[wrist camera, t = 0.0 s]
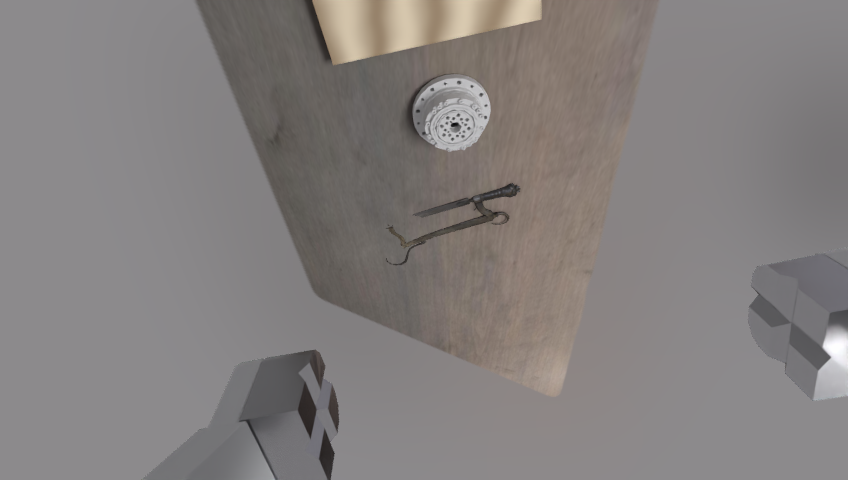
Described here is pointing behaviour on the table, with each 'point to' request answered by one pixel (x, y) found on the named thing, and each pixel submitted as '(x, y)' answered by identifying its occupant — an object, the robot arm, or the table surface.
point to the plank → (411, 23)
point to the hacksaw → (488, 216)
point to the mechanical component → (451, 111)
